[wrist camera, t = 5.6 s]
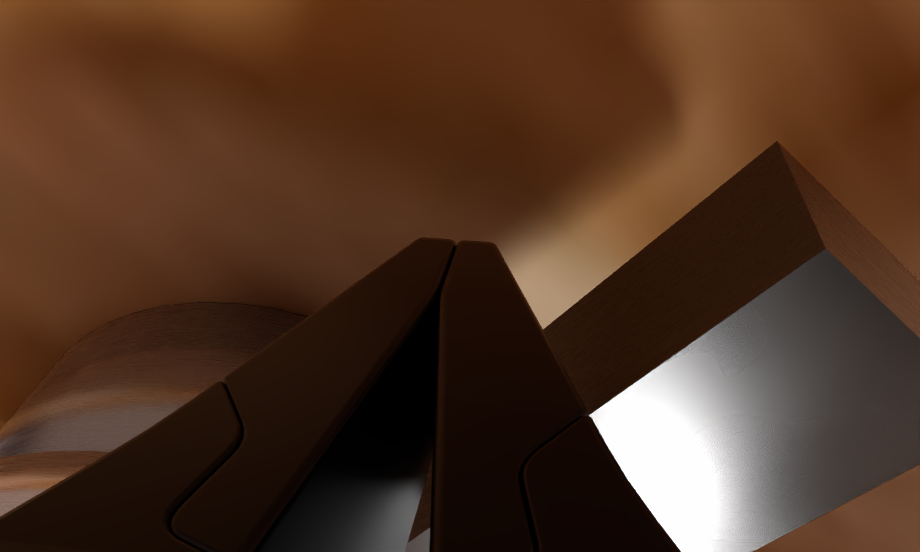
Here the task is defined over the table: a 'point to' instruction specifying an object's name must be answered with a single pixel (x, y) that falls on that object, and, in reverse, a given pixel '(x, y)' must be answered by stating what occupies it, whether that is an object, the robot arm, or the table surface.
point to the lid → (724, 367)
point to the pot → (138, 374)
